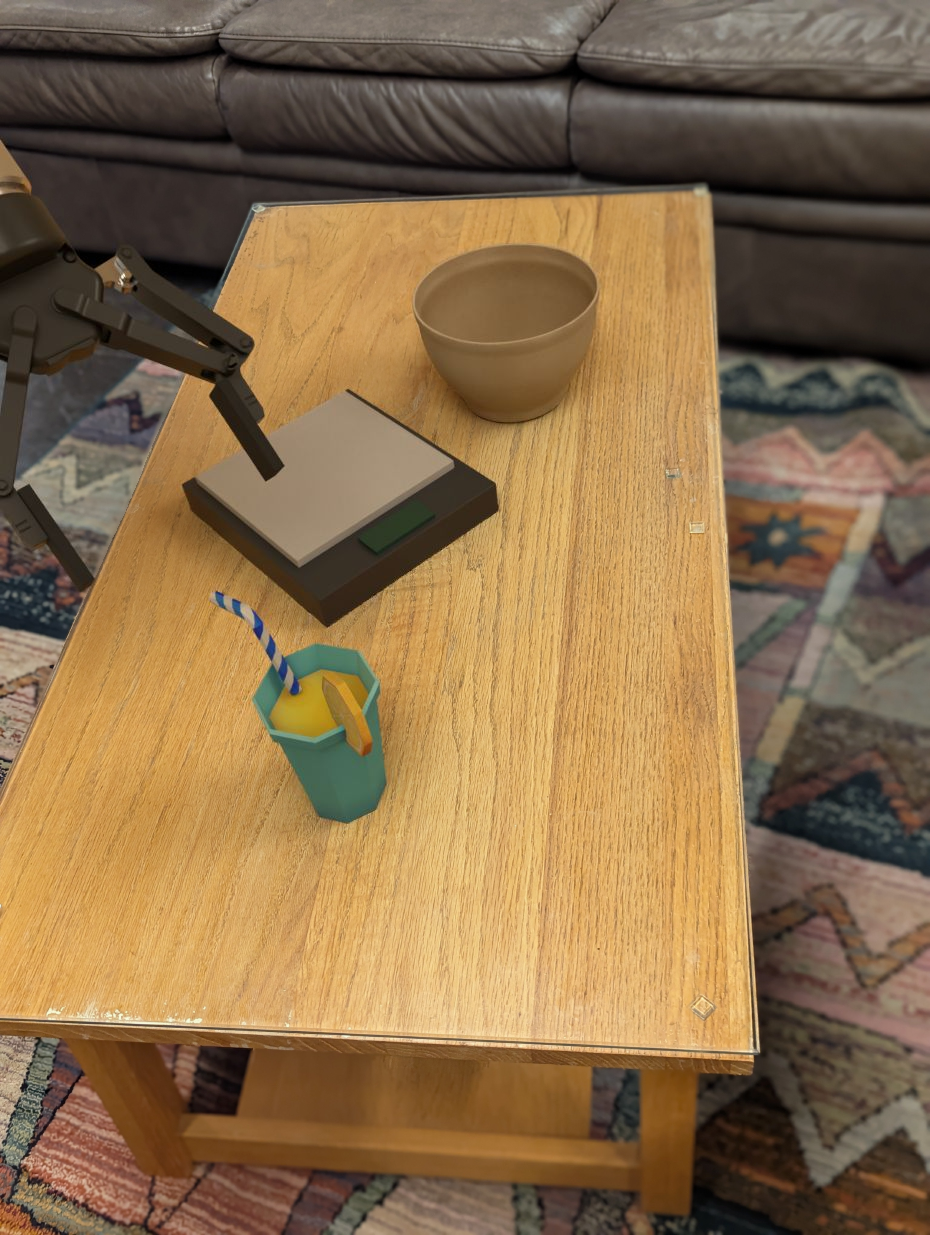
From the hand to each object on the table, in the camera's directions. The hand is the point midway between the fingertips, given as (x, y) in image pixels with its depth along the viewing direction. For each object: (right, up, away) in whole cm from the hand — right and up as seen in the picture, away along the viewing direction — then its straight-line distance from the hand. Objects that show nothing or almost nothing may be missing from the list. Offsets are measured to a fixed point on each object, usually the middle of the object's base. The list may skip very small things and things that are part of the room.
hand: (185, 528), depth 66 cm
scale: (+7, +4, +25) cm, 26 cm away
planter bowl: (+22, +15, +34) cm, 43 cm away
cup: (+9, -17, +6) cm, 20 cm away
